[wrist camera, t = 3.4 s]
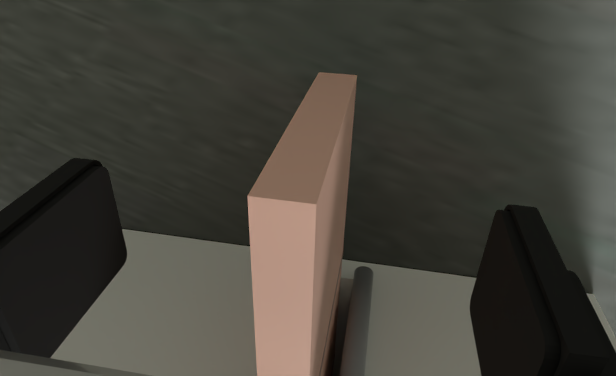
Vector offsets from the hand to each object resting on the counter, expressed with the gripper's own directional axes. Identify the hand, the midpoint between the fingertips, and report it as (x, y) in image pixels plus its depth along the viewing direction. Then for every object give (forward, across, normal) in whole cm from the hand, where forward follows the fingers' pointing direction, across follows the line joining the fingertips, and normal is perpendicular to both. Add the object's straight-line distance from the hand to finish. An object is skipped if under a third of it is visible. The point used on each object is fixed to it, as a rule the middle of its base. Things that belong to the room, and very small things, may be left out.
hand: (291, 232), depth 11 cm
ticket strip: (+5, 0, +7) cm, 8 cm away
